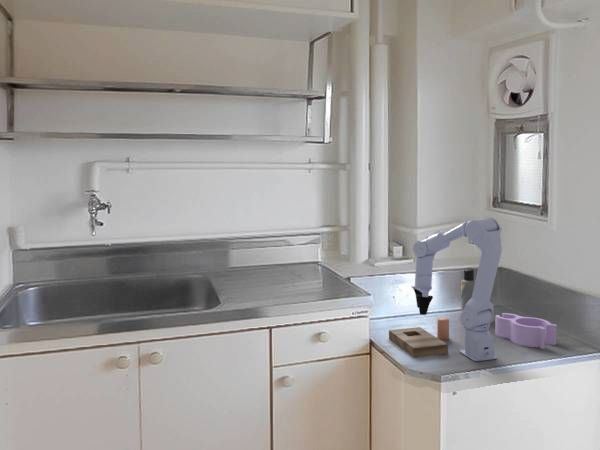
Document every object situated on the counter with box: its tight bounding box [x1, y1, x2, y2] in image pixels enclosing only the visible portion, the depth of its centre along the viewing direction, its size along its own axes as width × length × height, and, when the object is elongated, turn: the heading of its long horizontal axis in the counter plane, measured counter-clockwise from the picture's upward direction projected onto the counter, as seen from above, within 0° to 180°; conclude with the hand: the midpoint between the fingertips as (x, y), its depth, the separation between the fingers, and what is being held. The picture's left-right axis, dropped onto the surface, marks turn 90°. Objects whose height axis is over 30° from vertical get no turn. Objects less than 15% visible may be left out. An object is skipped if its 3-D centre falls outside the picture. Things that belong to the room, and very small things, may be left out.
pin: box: [436, 317, 450, 341], centre depth 192 cm, size 4×4×7 cm
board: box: [388, 326, 449, 358], centre depth 186 cm, size 20×12×3 cm, turn 14°
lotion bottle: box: [460, 267, 476, 313], centre depth 216 cm, size 6×6×20 cm
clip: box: [494, 312, 558, 350], centre depth 190 cm, size 20×12×7 cm, turn 34°
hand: (421, 310), depth 194 cm, fingers open, 7 cm apart
